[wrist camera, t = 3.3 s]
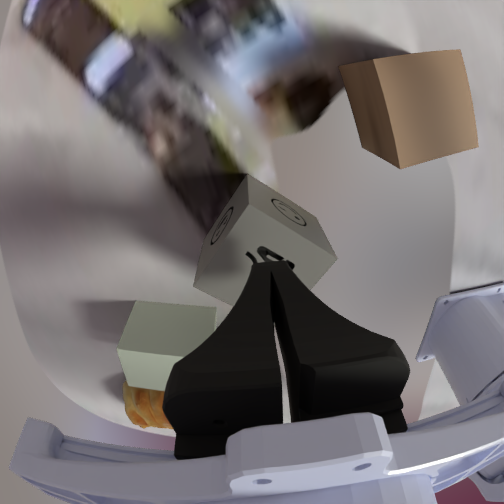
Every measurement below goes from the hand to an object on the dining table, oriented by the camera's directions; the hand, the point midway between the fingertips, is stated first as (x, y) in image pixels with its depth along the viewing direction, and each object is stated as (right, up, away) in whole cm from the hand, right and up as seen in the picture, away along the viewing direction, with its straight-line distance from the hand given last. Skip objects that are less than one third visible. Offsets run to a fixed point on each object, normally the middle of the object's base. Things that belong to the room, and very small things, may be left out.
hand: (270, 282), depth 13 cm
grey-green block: (-6, -4, +10) cm, 13 cm away
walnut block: (+7, +10, +2) cm, 13 cm away
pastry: (-9, -12, +15) cm, 21 cm away
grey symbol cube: (0, +3, +7) cm, 7 cm away
